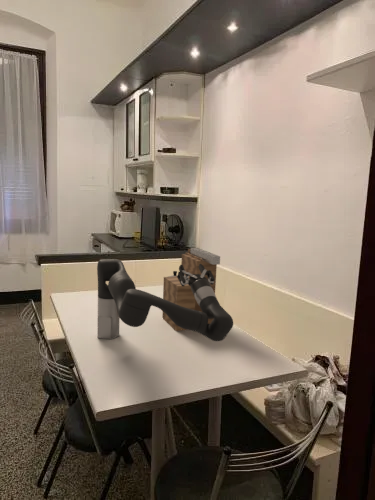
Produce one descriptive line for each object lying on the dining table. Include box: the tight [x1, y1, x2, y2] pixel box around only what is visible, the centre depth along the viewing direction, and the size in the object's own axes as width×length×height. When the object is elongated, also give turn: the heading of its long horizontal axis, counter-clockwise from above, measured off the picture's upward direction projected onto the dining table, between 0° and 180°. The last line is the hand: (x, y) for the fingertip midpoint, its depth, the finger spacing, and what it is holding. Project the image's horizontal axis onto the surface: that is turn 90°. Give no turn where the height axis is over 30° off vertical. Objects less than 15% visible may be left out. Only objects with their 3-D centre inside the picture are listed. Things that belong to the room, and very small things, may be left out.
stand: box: [161, 248, 218, 332], centre depth 186 cm, size 18×19×34 cm
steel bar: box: [190, 247, 221, 265], centre depth 180 cm, size 24×4×4 cm, turn 23°
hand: (190, 265), depth 160 cm, fingers open, 8 cm apart
